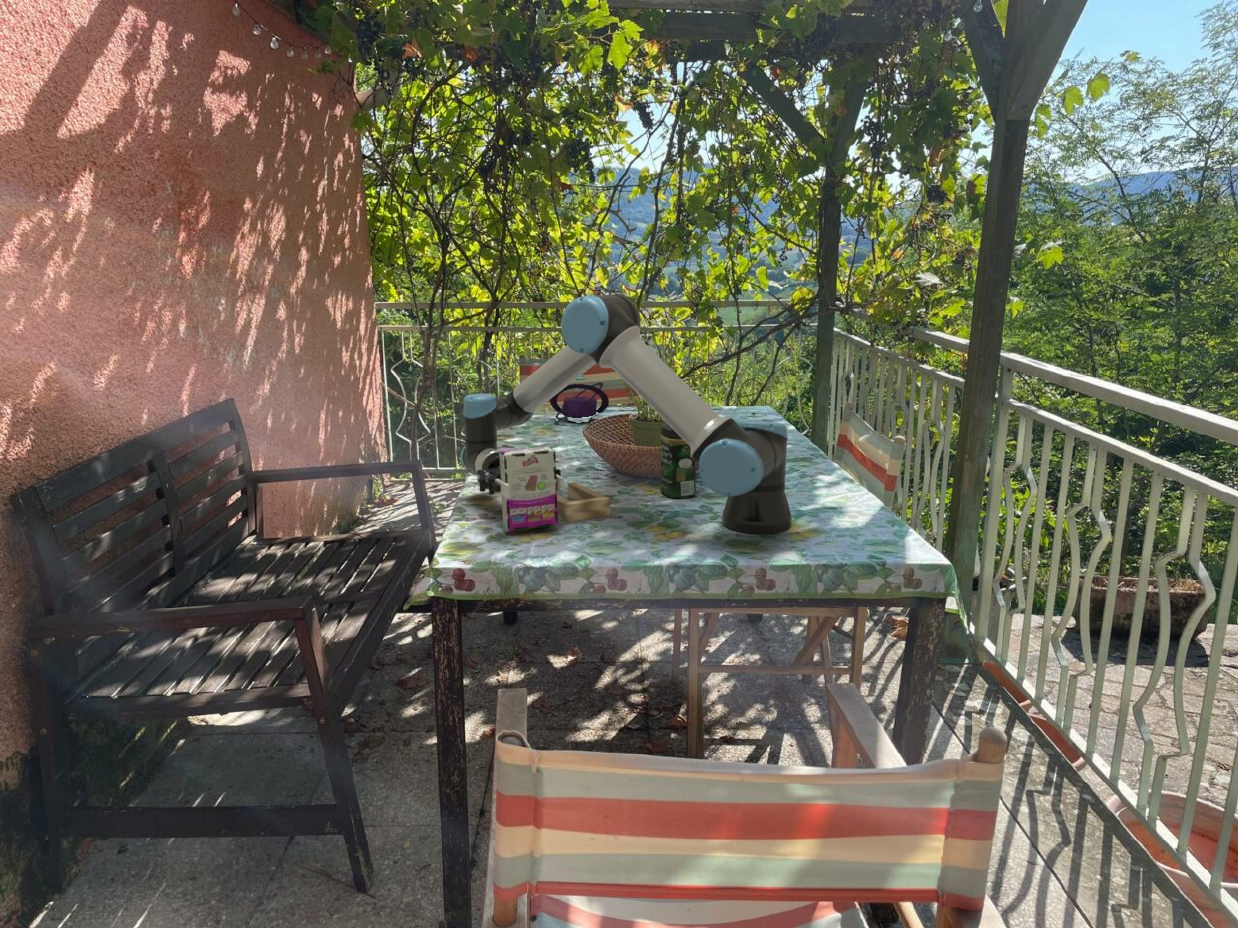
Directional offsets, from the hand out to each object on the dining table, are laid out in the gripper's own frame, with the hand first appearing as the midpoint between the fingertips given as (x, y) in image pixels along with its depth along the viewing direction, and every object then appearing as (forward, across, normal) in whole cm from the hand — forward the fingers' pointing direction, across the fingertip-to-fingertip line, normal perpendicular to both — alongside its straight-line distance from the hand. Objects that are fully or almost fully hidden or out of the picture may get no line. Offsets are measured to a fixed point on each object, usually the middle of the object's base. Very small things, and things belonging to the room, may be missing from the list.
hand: (536, 487), depth 175 cm
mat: (-14, -15, -11) cm, 23 cm away
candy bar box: (-4, 0, -9) cm, 10 cm away
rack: (-14, -15, -10) cm, 23 cm away
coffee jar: (-15, -45, -11) cm, 49 cm away
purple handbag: (-119, -71, -10) cm, 139 cm away
